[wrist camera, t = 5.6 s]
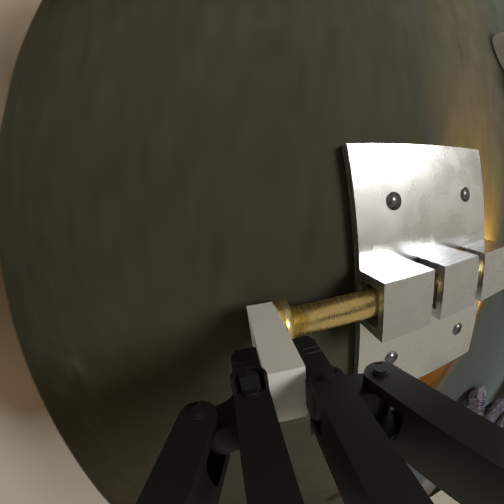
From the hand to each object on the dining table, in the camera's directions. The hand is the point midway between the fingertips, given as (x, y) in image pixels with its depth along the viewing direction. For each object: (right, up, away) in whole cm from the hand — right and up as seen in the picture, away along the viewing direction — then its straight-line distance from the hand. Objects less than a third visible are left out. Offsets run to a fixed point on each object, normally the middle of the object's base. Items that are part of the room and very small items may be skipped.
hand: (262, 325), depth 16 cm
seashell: (+28, -15, +8) cm, 33 cm away
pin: (+9, +2, +2) cm, 9 cm away
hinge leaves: (+13, +3, +3) cm, 14 cm away
